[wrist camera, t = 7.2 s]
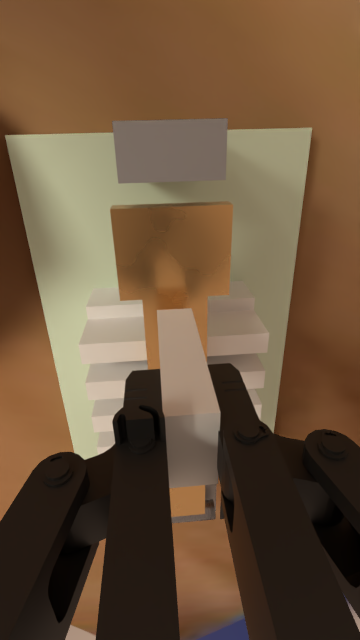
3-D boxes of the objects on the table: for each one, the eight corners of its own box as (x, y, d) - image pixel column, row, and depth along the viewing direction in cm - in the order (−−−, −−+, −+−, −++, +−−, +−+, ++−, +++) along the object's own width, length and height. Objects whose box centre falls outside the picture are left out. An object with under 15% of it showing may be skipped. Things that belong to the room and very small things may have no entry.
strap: (216, 506, 24) (219, 522, 23) (145, 512, 24) (145, 529, 23) (227, 200, 15) (233, 204, 14) (112, 205, 15) (109, 209, 14)
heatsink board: (81, 464, 31) (57, 574, 23) (11, 136, 19) (-86, 125, 11) (267, 448, 32) (306, 549, 24) (305, 128, 20) (405, 114, 12)
